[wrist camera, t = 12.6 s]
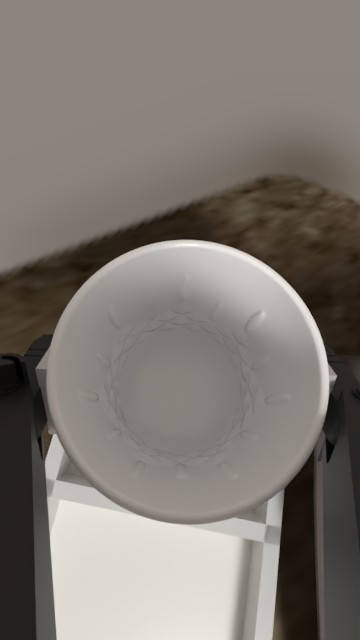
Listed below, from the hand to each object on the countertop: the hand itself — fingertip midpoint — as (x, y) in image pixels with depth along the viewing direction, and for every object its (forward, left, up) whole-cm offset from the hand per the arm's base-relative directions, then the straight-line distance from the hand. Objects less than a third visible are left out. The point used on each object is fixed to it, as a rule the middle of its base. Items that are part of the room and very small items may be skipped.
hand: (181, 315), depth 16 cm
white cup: (+1, -3, -4) cm, 5 cm away
